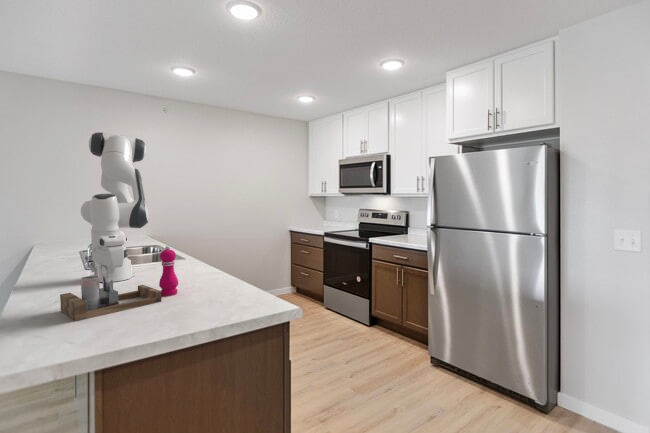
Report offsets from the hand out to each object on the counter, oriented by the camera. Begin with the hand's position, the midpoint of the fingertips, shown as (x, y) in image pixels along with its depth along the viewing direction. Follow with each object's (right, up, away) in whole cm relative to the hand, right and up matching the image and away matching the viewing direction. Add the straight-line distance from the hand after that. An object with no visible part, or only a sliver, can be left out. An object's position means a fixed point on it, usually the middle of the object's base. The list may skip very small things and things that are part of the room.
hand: (107, 277), depth 130 cm
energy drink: (-4, -12, -4) cm, 13 cm away
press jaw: (0, -11, +1) cm, 11 cm away
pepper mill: (+15, -10, +18) cm, 25 cm away
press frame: (+1, -11, +2) cm, 11 cm away
